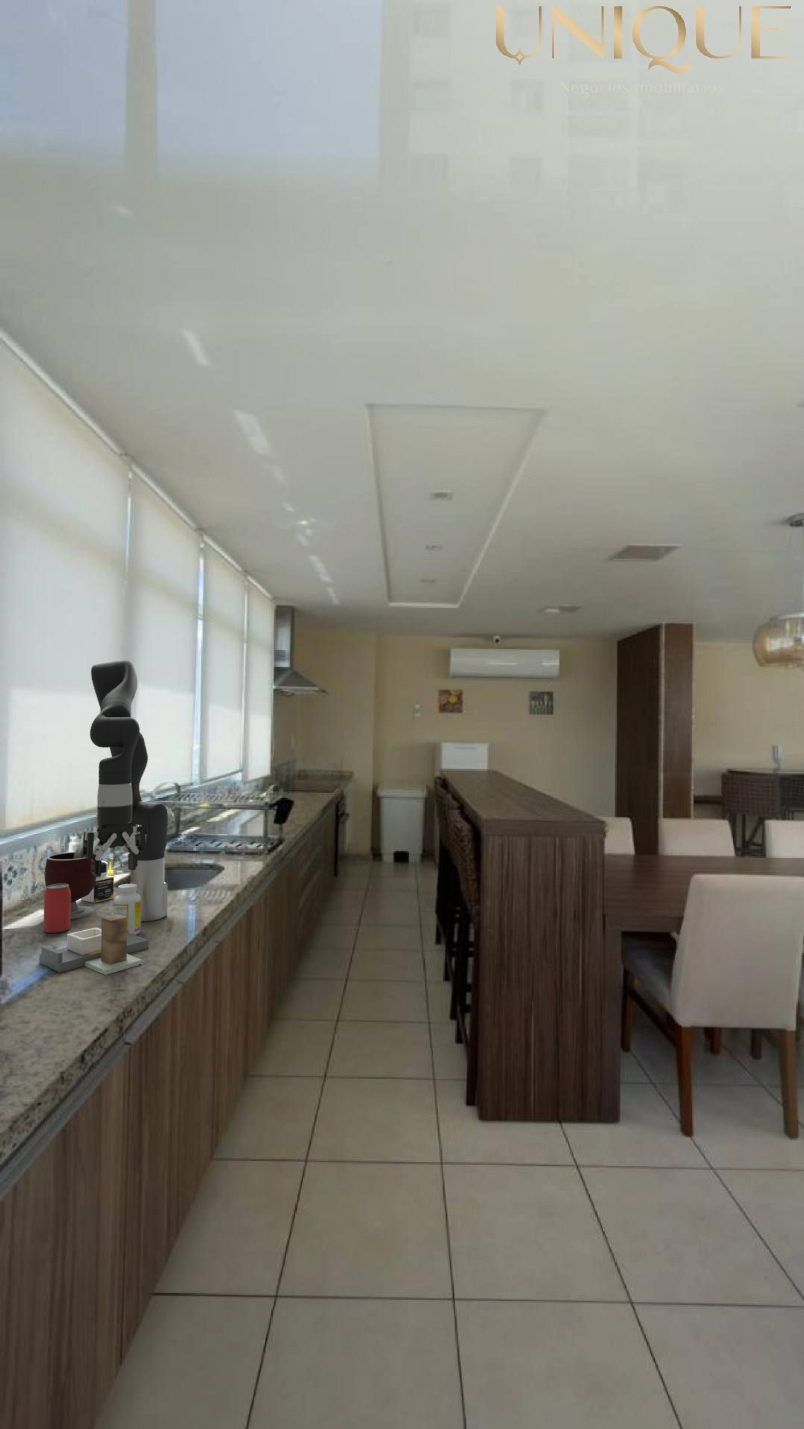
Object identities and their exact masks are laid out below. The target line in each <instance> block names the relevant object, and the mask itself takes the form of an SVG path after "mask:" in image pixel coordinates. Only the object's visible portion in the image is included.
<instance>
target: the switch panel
mask: <svg viewBox="0 0 804 1429" xmlns="http://www.w3.org/2000/svg"><path fill="white" fill-rule="evenodd" d="M149 942H150V940H149V939H148V938H144V937H142V936H139V935H133V934H130V933H127V954H128V955H129V954H131V953H132V954H133V953H135V952H138V951H142V950H146V949H149V948H150V947H149V946H150V945H149ZM40 949H41V951H40V952H41V953H39V956H38V959H39V960H38V962H39V964H41V965H43V966H45V967H46V968H49V969H50V970H53V971H55V972H58V973H63V972H66V971H70V970H73V969H78V968H81V967H85V962H87V961H90V960H94V959H98V958H101V950H100V951H96V952H92V953H88V954H84V955H81V954H78V953H76V952H73V951H71V950H68V949H67V947H63V948H60V949H59V948H58V949H55V948H52V947H50V946H48V945H43V946H41V948H40Z"/></svg>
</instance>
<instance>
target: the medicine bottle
mask: <svg viewBox="0 0 804 1429" xmlns="http://www.w3.org/2000/svg"><path fill="white" fill-rule="evenodd" d="M108 865H109V863H108V862H107V861H105V860H101V876H100V877H96V883H95V886H94V888H93V889H92V891H91V892H90V893H89V895H87V896H85V897H83V898H81V899H80V900H81V901H84V902H89V903H95V904H96V903H100V902H103V901H107V900H112V899H113V900H114V899H115V895H114V894H115V893H114V892H115V891H114V890H115V888H114V887H115V885H114V881H115V878H114V877H115V876H113V875H110V874H109V875H108V873H109V867H108Z"/></svg>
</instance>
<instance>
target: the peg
mask: <svg viewBox="0 0 804 1429" xmlns="http://www.w3.org/2000/svg"><path fill="white" fill-rule="evenodd" d="M100 922H101V927H100V929H101V961H102V962H104V963H107V964H109V965H112V964H115V963H119V962H122V961H126V960H127V917H126V916H122V915H119V914H116V915H114V914H112V915H107V916H104V917H101V921H100Z"/></svg>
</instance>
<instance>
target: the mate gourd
mask: <svg viewBox="0 0 804 1429" xmlns="http://www.w3.org/2000/svg"><path fill="white" fill-rule="evenodd" d="M82 851H83V842H81V843H80V844H79V846H77V848H76V849H75V851H73V852H72V851H69V852H60V853H56V854H54V853H53V854H51V855H48V856H47V857H46V861H45V868H44V881H45V882H44V884H45V888H46V887H47V886H49V885H53V884H68V885H69V888H70V891H71V920H74V919H80V918H85V917H88V916H90V915H93V913H94V910H95V909H94V908H93V907H91V906H86V905H85V906H83V905H78V904H77V902H78V901H79V900H81V898H83V897H85V896H87V895H89V893H90V892H91V891H92V889H93V888H94V886H95V883H96V877H95V876H94V875H93V874H92V873H91V860H90V859H88V858H83V857H82Z"/></svg>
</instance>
